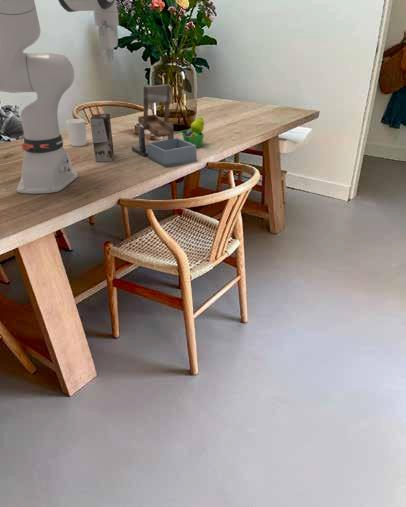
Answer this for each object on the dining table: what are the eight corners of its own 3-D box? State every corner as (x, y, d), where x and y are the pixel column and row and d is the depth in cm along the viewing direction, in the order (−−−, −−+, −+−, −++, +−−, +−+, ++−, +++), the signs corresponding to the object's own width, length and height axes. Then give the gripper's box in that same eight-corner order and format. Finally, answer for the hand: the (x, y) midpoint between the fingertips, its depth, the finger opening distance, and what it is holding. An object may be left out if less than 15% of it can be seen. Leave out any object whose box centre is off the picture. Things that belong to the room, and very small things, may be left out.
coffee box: (112, 161, 163) (107, 118, 155) (95, 162, 162) (89, 118, 154) (114, 154, 171) (110, 113, 163) (98, 155, 170) (93, 113, 162)
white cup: (83, 147, 180) (79, 123, 175) (66, 146, 182) (62, 122, 177) (91, 142, 187) (88, 119, 182) (74, 141, 188) (71, 118, 184)
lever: (135, 123, 171) (135, 80, 161) (158, 120, 176) (159, 78, 166) (152, 138, 162) (153, 93, 151) (176, 134, 167) (178, 90, 156)
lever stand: (132, 150, 175) (129, 124, 170) (164, 145, 182) (162, 119, 177) (144, 157, 167) (142, 129, 162) (177, 151, 174) (176, 124, 169)
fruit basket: (181, 142, 187) (180, 115, 181) (200, 140, 189) (200, 114, 183) (186, 149, 177) (186, 121, 171) (207, 147, 179) (207, 120, 173)
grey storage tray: (148, 158, 166) (147, 143, 163) (178, 152, 172) (177, 137, 169) (165, 167, 156) (164, 151, 153) (196, 161, 162) (196, 145, 160)
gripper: (110, 21, 150) (114, 63, 157) (119, 20, 168) (122, 58, 175) (92, 21, 150) (97, 64, 157) (103, 20, 168) (107, 59, 175)
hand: (110, 61), depth 166 cm, fingers closed
